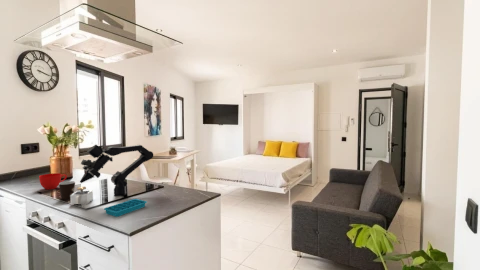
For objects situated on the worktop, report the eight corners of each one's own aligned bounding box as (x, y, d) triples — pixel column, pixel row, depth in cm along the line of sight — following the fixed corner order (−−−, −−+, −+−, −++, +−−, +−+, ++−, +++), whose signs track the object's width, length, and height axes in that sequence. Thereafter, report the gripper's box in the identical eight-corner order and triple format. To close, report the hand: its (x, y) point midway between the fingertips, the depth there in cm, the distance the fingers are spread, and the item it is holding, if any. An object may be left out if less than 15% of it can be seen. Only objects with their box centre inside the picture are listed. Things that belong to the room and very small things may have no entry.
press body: (92, 199, 154) (92, 190, 154) (85, 205, 143) (85, 195, 143) (77, 200, 152) (76, 191, 152) (68, 206, 141) (68, 196, 141)
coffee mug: (67, 200, 152) (66, 184, 152) (55, 199, 154) (55, 184, 154) (82, 195, 164) (82, 180, 163) (71, 194, 165) (71, 179, 165)
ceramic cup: (70, 186, 186) (70, 173, 185) (43, 191, 171) (43, 177, 171) (63, 184, 193) (62, 171, 192) (36, 189, 178) (36, 175, 178)
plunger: (90, 198, 153) (89, 185, 153) (86, 201, 147) (85, 188, 146) (78, 199, 151) (77, 186, 151) (73, 202, 145) (73, 189, 145)
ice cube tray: (148, 206, 142) (148, 201, 142) (116, 218, 125) (116, 212, 125) (135, 203, 148) (135, 198, 148) (102, 214, 131) (102, 208, 130)
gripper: (86, 153, 158) (65, 172, 150) (94, 155, 144) (72, 177, 137) (99, 163, 164) (80, 182, 156) (108, 167, 150) (88, 188, 143)
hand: (80, 182), depth 148 cm, fingers closed
